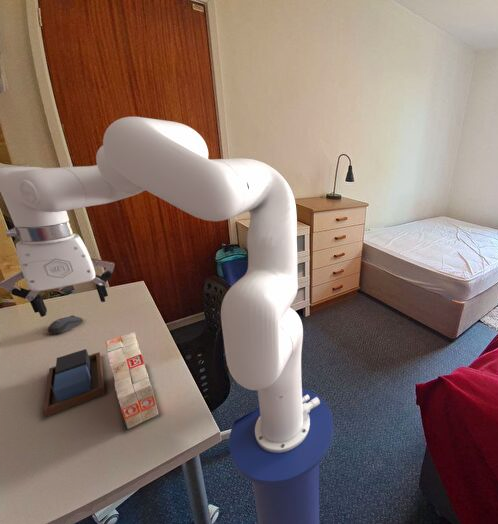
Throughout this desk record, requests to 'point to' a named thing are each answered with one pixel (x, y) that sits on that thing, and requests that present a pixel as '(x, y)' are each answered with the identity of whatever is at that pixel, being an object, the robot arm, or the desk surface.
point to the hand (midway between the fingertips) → (75, 306)
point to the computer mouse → (64, 324)
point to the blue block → (72, 383)
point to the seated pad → (73, 361)
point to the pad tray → (97, 389)
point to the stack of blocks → (131, 380)
